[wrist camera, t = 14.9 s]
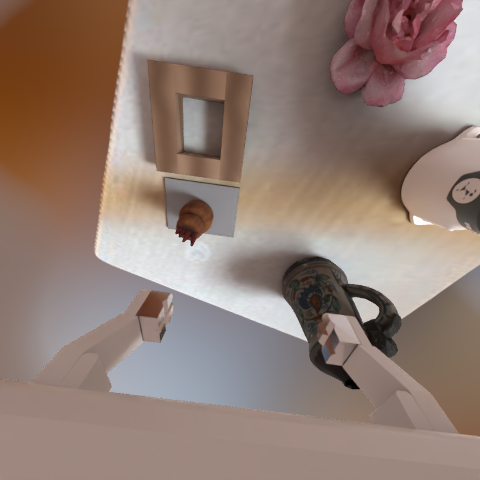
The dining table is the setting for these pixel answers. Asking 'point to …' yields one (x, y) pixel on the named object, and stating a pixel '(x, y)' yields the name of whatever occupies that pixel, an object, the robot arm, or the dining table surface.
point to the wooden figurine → (194, 220)
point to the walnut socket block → (171, 118)
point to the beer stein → (336, 309)
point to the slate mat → (214, 195)
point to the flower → (392, 45)
